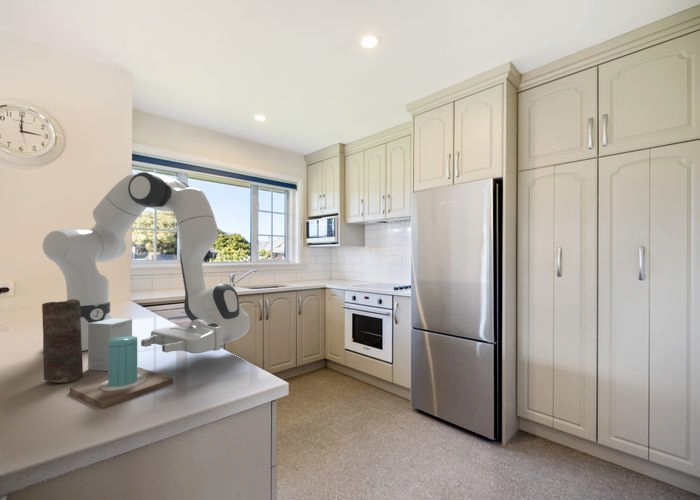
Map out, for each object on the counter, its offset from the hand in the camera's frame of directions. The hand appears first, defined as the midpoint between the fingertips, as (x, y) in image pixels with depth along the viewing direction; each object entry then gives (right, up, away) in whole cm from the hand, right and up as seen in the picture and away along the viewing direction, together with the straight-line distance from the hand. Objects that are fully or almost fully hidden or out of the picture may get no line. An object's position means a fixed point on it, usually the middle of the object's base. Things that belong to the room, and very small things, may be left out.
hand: (152, 346), depth 84 cm
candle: (-22, -8, -1) cm, 23 cm away
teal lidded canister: (-4, -7, -6) cm, 10 cm away
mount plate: (-4, -8, -6) cm, 11 cm away
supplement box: (-17, -8, +9) cm, 21 cm away
